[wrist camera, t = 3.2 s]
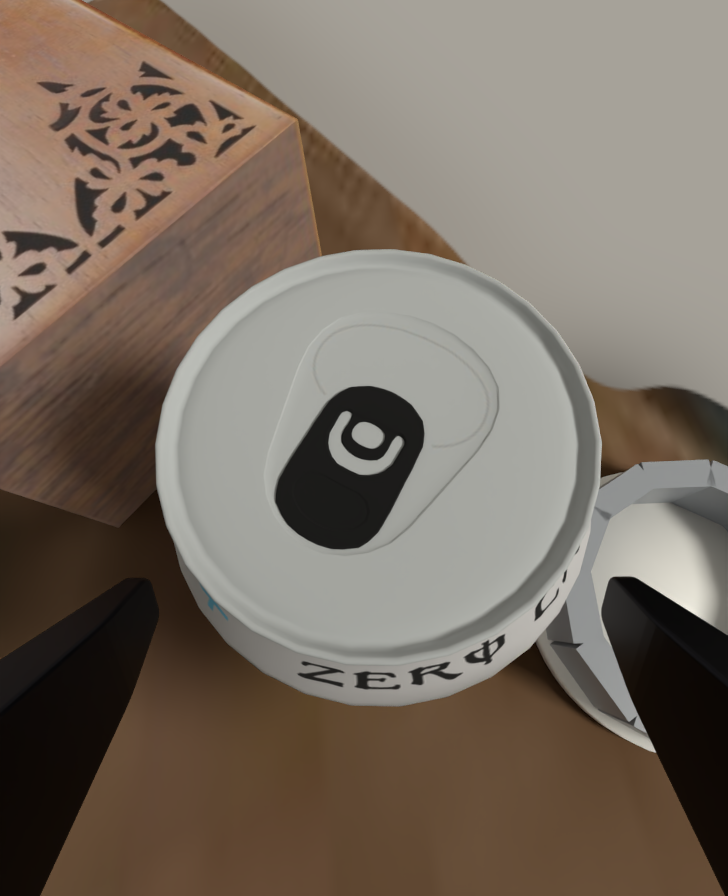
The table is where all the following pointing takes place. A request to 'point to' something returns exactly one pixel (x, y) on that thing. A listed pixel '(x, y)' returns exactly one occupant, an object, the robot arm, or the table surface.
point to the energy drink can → (379, 475)
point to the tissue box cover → (122, 241)
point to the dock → (641, 576)
